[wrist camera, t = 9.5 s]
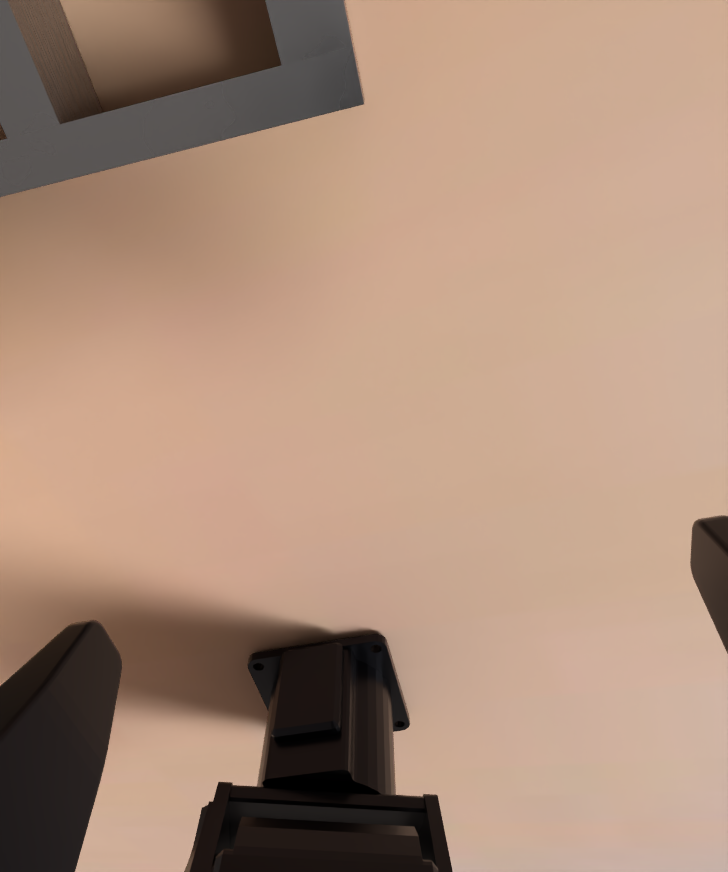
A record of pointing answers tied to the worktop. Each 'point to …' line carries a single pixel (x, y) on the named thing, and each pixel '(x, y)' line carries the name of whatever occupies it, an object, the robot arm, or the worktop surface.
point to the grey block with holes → (163, 117)
